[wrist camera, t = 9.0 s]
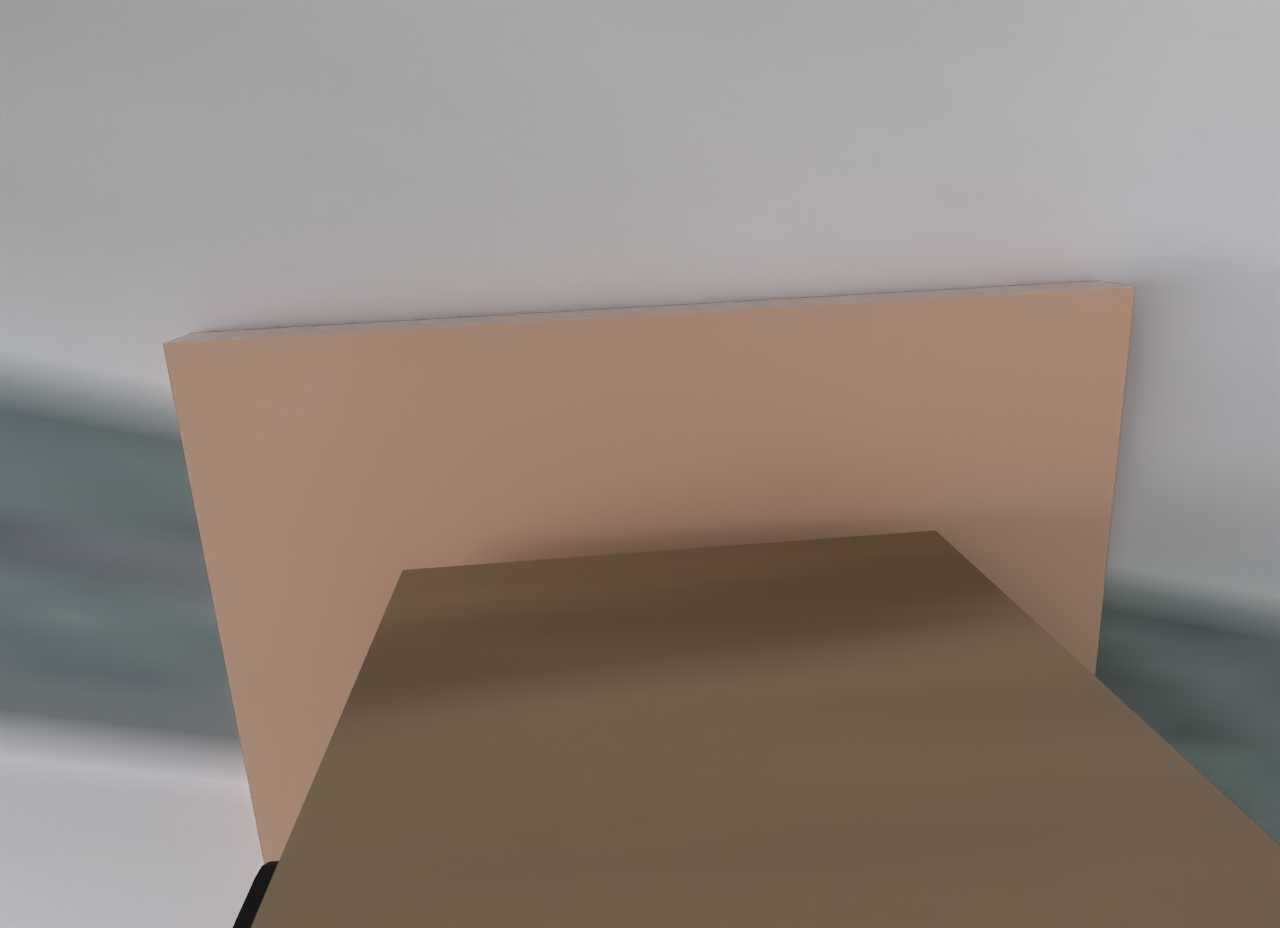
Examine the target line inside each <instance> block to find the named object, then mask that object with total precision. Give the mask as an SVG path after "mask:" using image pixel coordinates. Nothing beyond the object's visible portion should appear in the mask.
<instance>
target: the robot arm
mask: <svg viewBox="0 0 1280 928" xmlns="http://www.w3.org/2000/svg"><path fill="white" fill-rule="evenodd" d="M278 862H279V861H270V862H267V863H266V864H265V865H263V866H262V867H261V869H260V870H259V872H258V874H257V876H256V877H255V879H254V882H253V884H252V886H251V888H250V890H249V893H248V895H247V897H246V899H245V902H244V904H243V906H242V908H241V911H240V913H239V915H238V917H237V919H236V922H235V924H234V926H233V928H251V926H252V924H253V921H254V919H255V916H256V914H257V912H258V909H259V907H260V905H261V902H262V900H263V898H264V895H265V893H266V891H267V888H268V886H269V883H270V881H271V879H272V876H273V874H274V872H275V869H276V867H277V865H278Z"/></svg>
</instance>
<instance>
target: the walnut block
mask: <svg viewBox="0 0 1280 928" xmlns="http://www.w3.org/2000/svg"><path fill="white" fill-rule="evenodd" d="M251 928H1280V844H1279V843H1277V842H1276V841H1275V840H1274V839H1273V838H1272V837H1271V836H1270V835H1269V834H1268V833H1266V832H1265V831H1264V830H1263V829H1262V828H1261V827H1260V826H1259V825H1258V824H1257V823H1256V822H1254V821H1253V820H1252V819H1251V818H1250V817H1249V816H1248V815H1247V814H1246V813H1245V812H1243V811H1242V810H1241V809H1240V808H1239V807H1238V806H1237V805H1236V804H1235V803H1234V802H1233V801H1231V800H1230V799H1229V798H1228V797H1227V796H1226V795H1225V794H1224V793H1223V792H1222V791H1220V790H1219V789H1218V788H1217V787H1216V786H1215V785H1214V784H1213V783H1212V782H1211V781H1210V780H1208V779H1207V778H1206V777H1205V776H1204V775H1203V774H1202V773H1201V772H1200V771H1199V770H1197V769H1196V768H1195V767H1194V766H1193V765H1192V764H1191V763H1190V762H1189V761H1188V760H1186V759H1185V758H1184V757H1183V756H1182V755H1181V754H1180V753H1179V752H1178V751H1177V750H1176V749H1174V748H1173V747H1172V746H1171V745H1170V744H1169V743H1168V742H1167V741H1166V740H1165V739H1163V738H1162V737H1161V736H1160V735H1159V734H1158V733H1157V732H1156V731H1155V730H1154V729H1153V728H1151V727H1150V726H1149V725H1148V724H1147V723H1146V722H1145V721H1144V720H1143V719H1142V718H1140V717H1139V716H1138V715H1137V714H1136V713H1135V712H1134V711H1133V710H1132V709H1131V708H1130V707H1128V706H1127V705H1126V704H1125V703H1124V702H1123V701H1122V700H1121V699H1120V698H1119V697H1117V696H1116V695H1115V694H1114V693H1113V692H1112V691H1111V690H1110V689H1109V688H1108V687H1107V686H1105V685H1104V684H1103V683H1102V682H1101V681H1100V680H1099V679H1098V678H1097V677H1096V676H1094V675H1093V674H1092V673H1091V672H1090V671H1089V670H1088V669H1087V668H1086V667H1085V666H1083V665H1082V664H1081V663H1080V662H1079V661H1078V660H1077V659H1076V658H1075V657H1074V656H1073V655H1071V654H1070V653H1069V652H1068V651H1067V650H1066V649H1065V648H1064V647H1063V646H1062V645H1060V644H1059V643H1058V642H1057V641H1056V640H1055V639H1054V638H1053V637H1052V636H1051V635H1050V634H1048V633H1047V632H1046V631H1045V630H1044V629H1043V628H1042V627H1041V626H1040V625H1039V624H1037V623H1036V622H1035V621H1034V620H1033V619H1032V618H1031V617H1030V616H1029V615H1028V614H1027V613H1025V612H1024V611H1023V610H1022V609H1021V608H1020V607H1019V606H1018V605H1017V604H1016V603H1014V602H1013V601H1012V600H1011V599H1010V598H1009V597H1008V596H1007V595H1006V594H1005V593H1003V592H1002V591H1001V590H1000V589H999V588H998V587H997V586H996V585H995V584H994V583H993V582H991V581H990V580H989V579H988V578H987V577H986V576H985V575H984V574H983V573H982V572H980V571H979V570H978V569H977V568H976V567H975V566H974V565H973V564H972V563H971V562H970V561H968V560H967V559H966V558H965V557H964V556H963V555H962V554H961V553H960V552H959V551H957V550H956V549H955V548H954V547H953V546H952V545H951V544H950V543H949V542H948V541H947V540H945V539H944V538H943V537H942V536H941V535H940V534H939V533H938V532H937V531H936V530H935V531H921V532H908V533H894V534H881V535H867V536H854V537H840V538H827V539H814V540H800V541H787V542H773V543H760V544H746V545H733V546H719V547H706V548H692V549H679V550H665V551H652V552H638V553H625V554H611V555H598V556H584V557H571V558H557V559H544V560H530V561H517V562H503V563H490V564H476V565H463V566H449V567H436V568H422V569H409V570H402V573H401V575H400V577H399V580H398V582H397V584H396V587H395V589H394V591H393V594H392V596H391V599H390V601H389V603H388V606H387V608H386V610H385V613H384V615H383V617H382V620H381V622H380V624H379V627H378V629H377V632H376V634H375V636H374V639H373V641H372V643H371V646H370V648H369V650H368V653H367V655H366V657H365V660H364V662H363V664H362V667H361V669H360V672H359V674H358V676H357V679H356V681H355V683H354V686H353V688H352V690H351V693H350V695H349V697H348V700H347V702H346V705H345V707H344V709H343V712H342V714H341V716H340V719H339V721H338V723H337V726H336V728H335V730H334V733H333V735H332V737H331V740H330V742H329V745H328V747H327V749H326V752H325V754H324V756H323V759H322V761H321V763H320V766H319V768H318V770H317V773H316V775H315V778H314V780H313V782H312V785H311V787H310V789H309V792H308V794H307V796H306V799H305V801H304V803H303V806H302V808H301V811H300V813H299V815H298V818H297V820H296V822H295V825H294V827H293V829H292V832H291V834H290V836H289V839H288V841H287V843H286V846H285V848H284V851H283V853H282V855H281V858H280V860H279V862H278V865H277V867H276V869H275V872H274V874H273V876H272V879H271V881H270V883H269V886H268V888H267V891H266V893H265V895H264V898H263V900H262V902H261V905H260V907H259V909H258V912H257V914H256V916H255V919H254V921H253V924H252V926H251Z"/></svg>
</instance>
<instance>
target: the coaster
mask: <svg viewBox="0 0 1280 928" xmlns="http://www.w3.org/2000/svg"><path fill="white" fill-rule="evenodd" d="M1134 293H1135V287H1132V286H1126V285H1120V284H1114V283H1108V282H1102V281H1084V282H1067V283H1049V284H1032V285H1015V286H997V287H980V288H962V289H945V290H928V291H910V292H893V293H875V294H858V295H841V296H823V297H806V298H789V299H771V300H754V301H736V302H719V303H702V304H684V305H667V306H649V307H632V308H615V309H597V310H580V311H562V312H545V313H528V314H510V315H493V316H475V317H458V318H441V319H423V320H406V321H389V322H371V323H354V324H336V325H319V326H302V327H284V328H267V329H249V330H232V331H215V332H197V333H189V334H187V335H184V336H181V337H179V338H176V339H173V340H171V341H168V342H165V343H163V347H164V352H165V357H166V362H167V367H168V372H169V378H170V383H171V388H172V393H173V398H174V403H175V408H176V414H177V419H178V424H179V429H180V434H181V439H182V444H183V449H184V455H185V460H186V465H187V470H188V475H189V480H190V485H191V490H192V496H193V501H194V506H195V511H196V516H197V521H198V526H199V531H200V537H201V542H202V547H203V552H204V557H205V562H206V567H207V573H208V578H209V583H210V588H211V593H212V598H213V603H214V608H215V614H216V619H217V624H218V629H219V634H220V639H221V644H222V649H223V655H224V660H225V665H226V670H227V675H228V680H229V685H230V690H231V696H232V701H233V706H234V711H235V716H236V721H237V726H238V732H239V737H240V742H241V747H242V752H243V757H244V762H245V767H246V773H247V778H248V783H249V788H250V793H251V798H252V803H253V808H254V814H255V819H256V824H257V829H258V834H259V839H260V844H261V849H262V855H263V860H264V865H265V864H266V863H267V862H270V861H279V860H280V858H281V855H282V853H283V851H284V848H285V846H286V843H287V841H288V839H289V836H290V834H291V832H292V829H293V827H294V825H295V822H296V820H297V818H298V815H299V813H300V811H301V808H302V806H303V803H304V801H305V799H306V796H307V794H308V792H309V789H310V787H311V785H312V782H313V780H314V778H315V775H316V773H317V770H318V768H319V766H320V763H321V761H322V759H323V756H324V754H325V752H326V749H327V747H328V745H329V742H330V740H331V737H332V735H333V733H334V730H335V728H336V726H337V723H338V721H339V719H340V716H341V714H342V712H343V709H344V707H345V705H346V702H347V700H348V697H349V695H350V693H351V690H352V688H353V686H354V683H355V681H356V679H357V676H358V674H359V672H360V669H361V667H362V664H363V662H364V660H365V657H366V655H367V653H368V650H369V648H370V646H371V643H372V641H373V639H374V636H375V634H376V632H377V629H378V627H379V624H380V622H381V620H382V617H383V615H384V613H385V610H386V608H387V606H388V603H389V601H390V599H391V596H392V594H393V591H394V589H395V587H396V584H397V582H398V580H399V577H400V575H401V573H402V570H409V569H422V568H436V567H449V566H463V565H476V564H490V563H503V562H517V561H530V560H544V559H557V558H571V557H584V556H598V555H611V554H625V553H638V552H652V551H665V550H679V549H692V548H706V547H719V546H733V545H746V544H760V543H773V542H787V541H800V540H814V539H827V538H840V537H854V536H867V535H881V534H894V533H908V532H921V531H935V530H936V531H937V532H938V533H939V534H940V535H941V536H942V537H943V538H944V539H945V540H947V541H948V542H949V543H950V544H951V545H952V546H953V547H954V548H955V549H956V550H957V551H959V552H960V553H961V554H962V555H963V556H964V557H965V558H966V559H967V560H968V561H970V562H971V563H972V564H973V565H974V566H975V567H976V568H977V569H978V570H979V571H980V572H982V573H983V574H984V575H985V576H986V577H987V578H988V579H989V580H990V581H991V582H993V583H994V584H995V585H996V586H997V587H998V588H999V589H1000V590H1001V591H1002V592H1003V593H1005V594H1006V595H1007V596H1008V597H1009V598H1010V599H1011V600H1012V601H1013V602H1014V603H1016V604H1017V605H1018V606H1019V607H1020V608H1021V609H1022V610H1023V611H1024V612H1025V613H1027V614H1028V615H1029V616H1030V617H1031V618H1032V619H1033V620H1034V621H1035V622H1036V623H1037V624H1039V625H1040V626H1041V627H1042V628H1043V629H1044V630H1045V631H1046V632H1047V633H1048V634H1050V635H1051V636H1052V637H1053V638H1054V639H1055V640H1056V641H1057V642H1058V643H1059V644H1060V645H1062V646H1063V647H1064V648H1065V649H1066V650H1067V651H1068V652H1069V653H1070V654H1071V655H1073V656H1074V657H1075V658H1076V659H1077V660H1078V661H1079V662H1080V663H1081V664H1082V665H1083V666H1085V667H1086V668H1087V669H1088V670H1089V671H1090V672H1091V673H1092V674H1093V675H1094V676H1095V673H1096V663H1097V653H1098V644H1099V634H1100V624H1101V614H1102V605H1103V595H1104V585H1105V575H1106V566H1107V556H1108V546H1109V536H1110V527H1111V517H1112V507H1113V498H1114V488H1115V478H1116V468H1117V459H1118V449H1119V439H1120V429H1121V420H1122V410H1123V400H1124V390H1125V381H1126V371H1127V361H1128V352H1129V342H1130V332H1131V322H1132V313H1133V303H1134Z"/></svg>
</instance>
